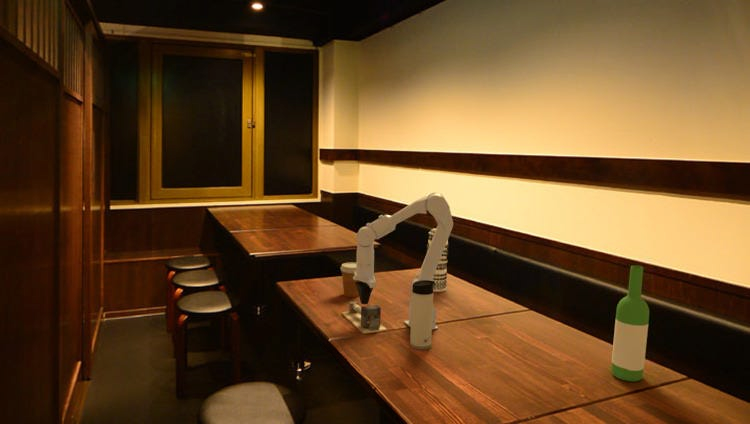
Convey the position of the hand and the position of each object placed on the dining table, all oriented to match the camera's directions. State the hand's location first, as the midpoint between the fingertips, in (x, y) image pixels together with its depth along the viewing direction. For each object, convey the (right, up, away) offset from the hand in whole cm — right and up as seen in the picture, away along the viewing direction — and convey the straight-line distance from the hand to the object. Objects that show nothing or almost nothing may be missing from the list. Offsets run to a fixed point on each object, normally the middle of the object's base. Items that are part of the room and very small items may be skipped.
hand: (364, 303), depth 176 cm
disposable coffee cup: (-5, -2, +32) cm, 32 cm away
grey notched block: (+2, -7, -4) cm, 9 cm away
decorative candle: (+29, -2, +43) cm, 52 cm away
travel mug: (+17, -10, -18) cm, 27 cm away
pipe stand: (0, -6, +1) cm, 7 cm away
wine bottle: (+70, -14, -35) cm, 80 cm away
